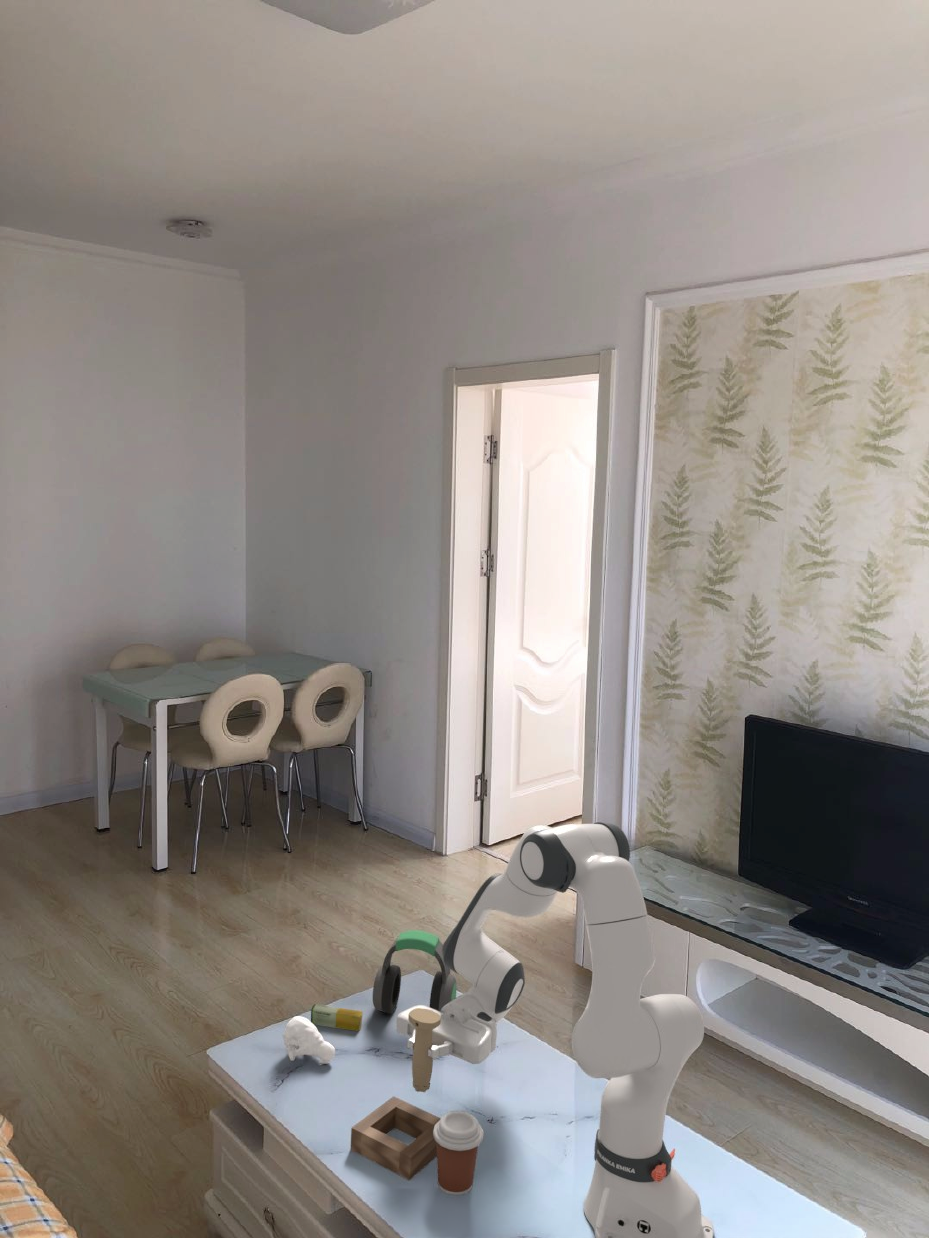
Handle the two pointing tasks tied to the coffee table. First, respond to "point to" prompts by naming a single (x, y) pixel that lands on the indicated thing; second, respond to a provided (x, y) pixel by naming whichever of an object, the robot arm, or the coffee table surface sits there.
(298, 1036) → the white lumpy rounded piece
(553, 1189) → the coffee table surface
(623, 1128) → the robot arm
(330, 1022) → the medication box
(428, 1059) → the handle
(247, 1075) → the coffee table surface
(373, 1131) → the socket block
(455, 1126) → the coffee cup
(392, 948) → the headphones
